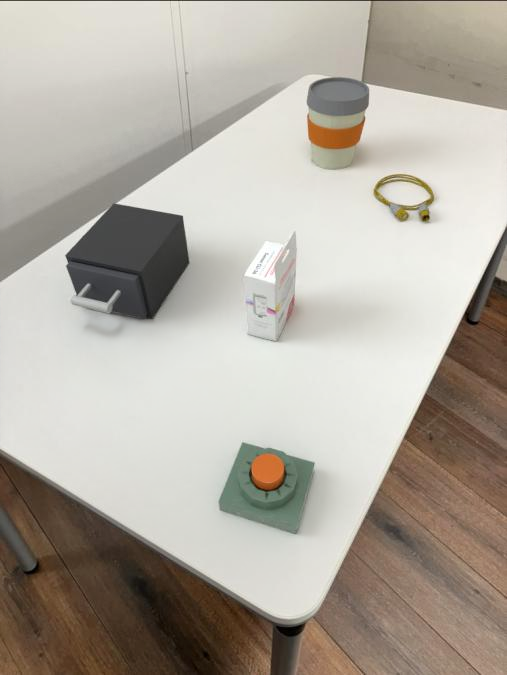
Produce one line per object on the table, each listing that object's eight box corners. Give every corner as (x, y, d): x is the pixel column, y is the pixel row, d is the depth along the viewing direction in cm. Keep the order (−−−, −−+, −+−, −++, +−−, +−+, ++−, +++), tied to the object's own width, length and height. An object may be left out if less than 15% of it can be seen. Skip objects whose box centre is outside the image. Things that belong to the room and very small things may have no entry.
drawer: (131, 339, 75) (120, 300, 70) (64, 322, 78) (48, 284, 72) (180, 266, 87) (174, 227, 81) (121, 253, 90) (111, 215, 84)
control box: (219, 510, 58) (217, 494, 55) (242, 451, 63) (241, 433, 60) (295, 534, 56) (297, 519, 53) (313, 471, 61) (315, 454, 58)
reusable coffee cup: (292, 161, 112) (294, 90, 101) (325, 140, 119) (330, 72, 108) (339, 179, 107) (347, 107, 96) (371, 156, 113) (382, 86, 102)
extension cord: (362, 214, 98) (364, 205, 96) (381, 174, 108) (383, 166, 106) (427, 227, 94) (429, 218, 93) (440, 185, 104) (443, 176, 103)
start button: (247, 485, 56) (246, 477, 55) (257, 457, 59) (257, 449, 57) (278, 494, 55) (278, 487, 54) (287, 466, 58) (288, 458, 56)
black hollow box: (152, 319, 80) (141, 271, 73) (82, 302, 82) (64, 255, 75) (189, 262, 89) (182, 215, 82) (125, 249, 92) (113, 203, 85)
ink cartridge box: (265, 298, 82) (265, 221, 71) (295, 306, 81) (299, 228, 70) (245, 334, 77) (241, 257, 66) (276, 343, 75) (277, 265, 65)
